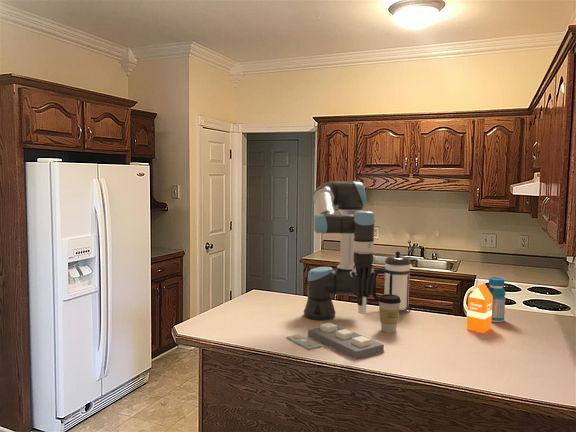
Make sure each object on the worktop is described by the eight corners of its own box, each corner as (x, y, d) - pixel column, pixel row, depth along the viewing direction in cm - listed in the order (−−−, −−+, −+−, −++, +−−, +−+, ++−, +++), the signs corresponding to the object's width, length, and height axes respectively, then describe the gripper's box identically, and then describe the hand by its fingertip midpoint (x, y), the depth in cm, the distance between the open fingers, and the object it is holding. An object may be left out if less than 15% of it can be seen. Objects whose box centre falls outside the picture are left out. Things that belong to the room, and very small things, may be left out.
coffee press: (390, 304, 254) (391, 247, 251) (416, 310, 243) (418, 251, 240) (370, 310, 242) (372, 251, 239) (398, 317, 230) (399, 255, 228)
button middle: (335, 339, 194) (335, 331, 193) (345, 337, 196) (345, 328, 196) (343, 343, 189) (343, 334, 189) (353, 340, 192) (353, 332, 192)
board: (308, 336, 202) (308, 329, 201) (334, 330, 209) (334, 323, 209) (356, 359, 177) (356, 351, 176) (383, 352, 184) (383, 344, 184)
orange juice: (466, 328, 214) (468, 284, 212) (474, 324, 220) (476, 281, 218) (484, 333, 208) (486, 287, 207) (491, 328, 215) (493, 284, 213)
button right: (351, 347, 185) (352, 338, 185) (361, 344, 188) (361, 335, 188) (360, 351, 181) (360, 342, 181) (370, 348, 184) (370, 339, 184)
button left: (320, 332, 202) (320, 324, 202) (329, 330, 205) (329, 322, 204) (327, 336, 198) (327, 327, 197) (337, 333, 200) (337, 325, 200)
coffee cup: (400, 334, 205) (401, 300, 204) (377, 332, 207) (377, 298, 206) (399, 327, 215) (400, 294, 213) (377, 325, 217) (378, 293, 215)
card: (286, 338, 199) (286, 336, 199) (298, 335, 202) (298, 333, 202) (309, 349, 186) (309, 347, 186) (321, 347, 189) (321, 345, 189)
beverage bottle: (499, 323, 222) (501, 281, 220) (481, 319, 228) (483, 278, 226) (507, 320, 227) (509, 278, 225) (490, 316, 233) (492, 275, 232)
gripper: (357, 254, 175) (355, 318, 176) (383, 252, 182) (381, 313, 184) (343, 252, 181) (342, 313, 183) (369, 249, 188) (367, 308, 190)
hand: (362, 313), depth 183 cm, fingers closed
